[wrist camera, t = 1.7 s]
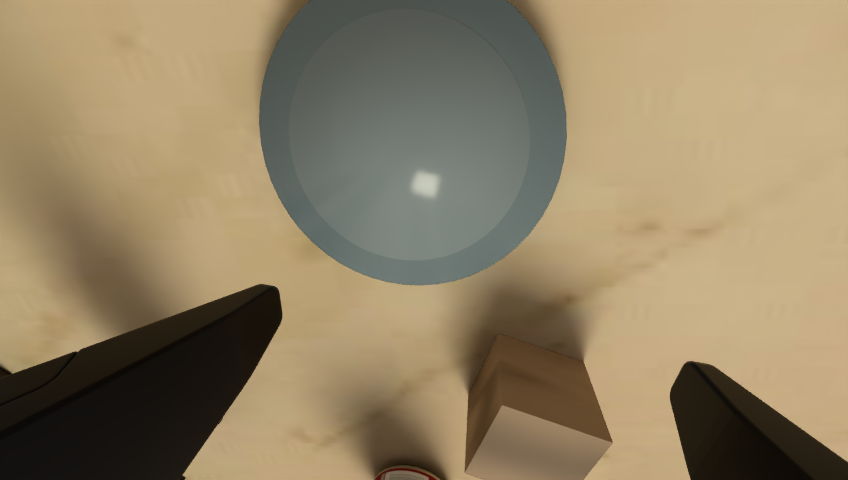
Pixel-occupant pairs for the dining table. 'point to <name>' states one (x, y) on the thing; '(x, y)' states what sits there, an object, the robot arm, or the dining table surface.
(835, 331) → the dining table surface
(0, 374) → the bottle
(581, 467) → the walnut block
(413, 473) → the soda can
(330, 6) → the dish
